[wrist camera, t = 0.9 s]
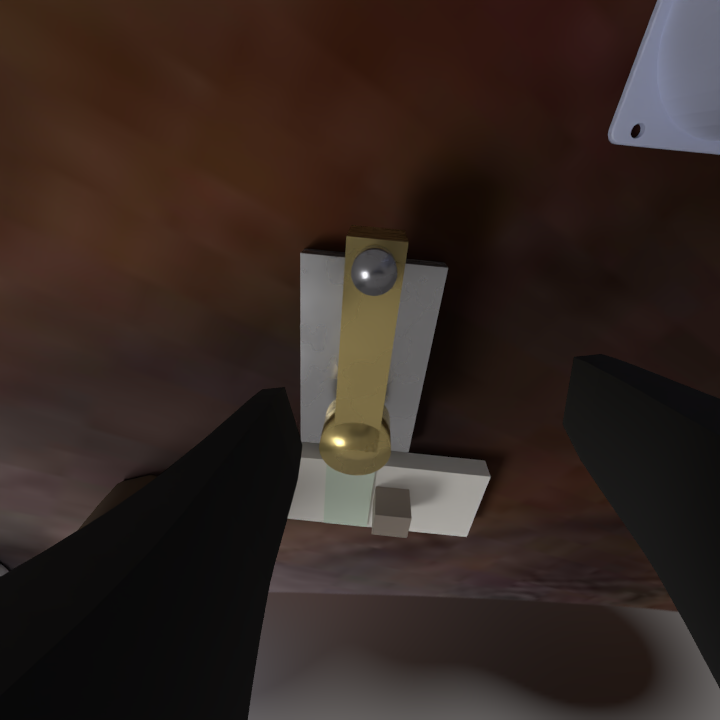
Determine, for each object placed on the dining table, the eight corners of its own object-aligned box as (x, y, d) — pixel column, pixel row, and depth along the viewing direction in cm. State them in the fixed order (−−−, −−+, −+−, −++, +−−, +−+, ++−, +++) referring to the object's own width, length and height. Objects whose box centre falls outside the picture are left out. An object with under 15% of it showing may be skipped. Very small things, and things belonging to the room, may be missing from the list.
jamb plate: (444, 262, 17) (452, 274, 15) (407, 441, 23) (409, 465, 21) (304, 248, 17) (295, 259, 15) (303, 430, 23) (297, 453, 21)
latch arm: (421, 231, 14) (431, 249, 11) (385, 446, 20) (386, 491, 18) (334, 223, 14) (323, 238, 11) (324, 439, 20) (315, 484, 18)
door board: (485, 460, 24) (500, 506, 21) (462, 520, 27) (473, 567, 24) (252, 436, 24) (233, 478, 21) (258, 499, 27) (243, 543, 24)
